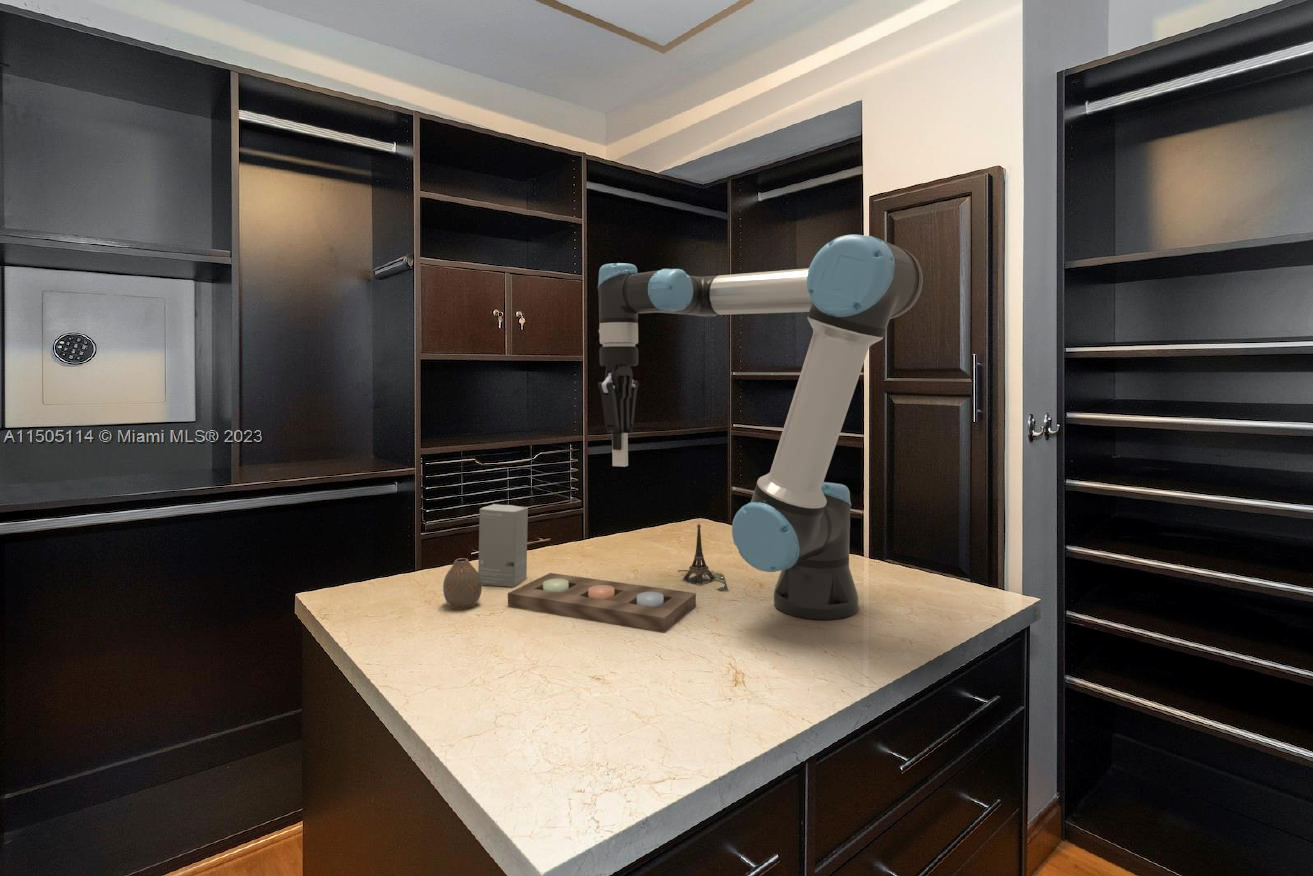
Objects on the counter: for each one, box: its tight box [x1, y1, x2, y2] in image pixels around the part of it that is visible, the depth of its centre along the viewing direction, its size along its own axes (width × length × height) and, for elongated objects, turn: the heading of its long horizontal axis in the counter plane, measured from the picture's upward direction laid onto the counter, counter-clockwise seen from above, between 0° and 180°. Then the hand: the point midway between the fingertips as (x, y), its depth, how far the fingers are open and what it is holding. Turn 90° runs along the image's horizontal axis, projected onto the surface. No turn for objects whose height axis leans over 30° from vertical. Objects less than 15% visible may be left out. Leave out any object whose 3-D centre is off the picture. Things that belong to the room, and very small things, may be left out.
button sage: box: [543, 579, 569, 593], centre depth 133 cm, size 5×5×3 cm
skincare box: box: [477, 503, 529, 588], centre depth 143 cm, size 8×7×16 cm
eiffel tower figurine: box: [677, 523, 729, 593], centre depth 143 cm, size 15×10×13 cm
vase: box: [442, 557, 483, 610], centre depth 129 cm, size 7×7×9 cm
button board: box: [507, 572, 697, 633], centre depth 128 cm, size 32×14×2 cm, turn 65°
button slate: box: [637, 592, 664, 608], centre depth 124 cm, size 5×5×3 cm
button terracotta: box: [588, 585, 614, 600], centre depth 128 cm, size 5×5×3 cm
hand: (620, 465), depth 138 cm, fingers closed
